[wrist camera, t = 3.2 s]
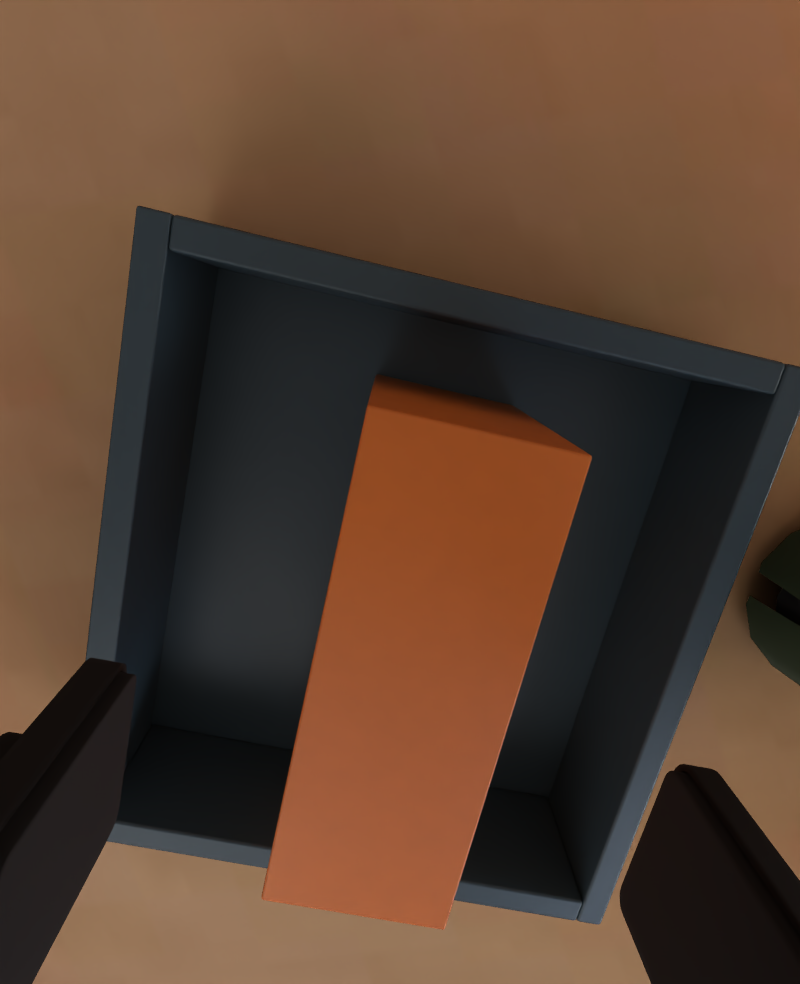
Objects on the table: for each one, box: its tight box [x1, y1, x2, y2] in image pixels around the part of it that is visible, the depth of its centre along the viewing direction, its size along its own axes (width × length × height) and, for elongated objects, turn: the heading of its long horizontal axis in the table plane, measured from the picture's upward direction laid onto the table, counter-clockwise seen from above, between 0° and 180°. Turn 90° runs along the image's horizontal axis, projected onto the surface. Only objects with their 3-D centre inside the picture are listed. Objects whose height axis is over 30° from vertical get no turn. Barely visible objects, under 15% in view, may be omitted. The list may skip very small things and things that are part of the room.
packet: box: [262, 374, 592, 930], centre depth 17 cm, size 4×12×8 cm, turn 167°
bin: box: [86, 206, 800, 924], centre depth 19 cm, size 17×18×5 cm
